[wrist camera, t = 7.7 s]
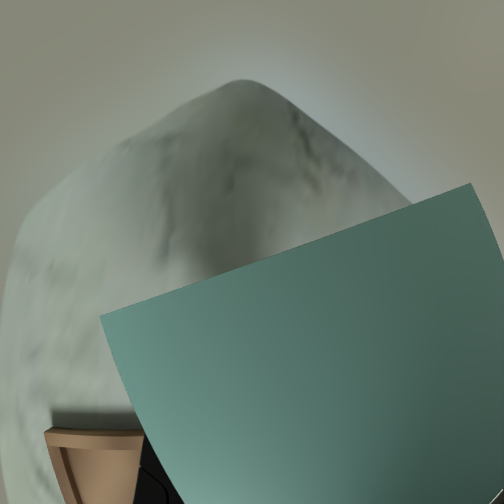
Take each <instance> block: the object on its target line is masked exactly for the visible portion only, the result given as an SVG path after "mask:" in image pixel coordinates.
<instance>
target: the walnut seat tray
mask: <svg viewBox="0 0 504 504" xmlns="http://www.w3.org/2000/svg"><path fill="white" fill-rule="evenodd" d="M44 436H45V440H46V444H47V448H48V451H49V455H50V458H51V462H52V465H53V468H54V471H55V474H56V478H57V481H58V483H59V486H60V489H61V492H62V495H63V497H64V500H65V503H66V504H132V503H133V499H134V493H135V487H136V482H137V475H138V468H139V467H140V466H139V462H140V456H141V449H142V443H143V437H144V430H92V429H72V428H59V427H51V428H50V429H48V430H46V431H45V432H44Z"/></svg>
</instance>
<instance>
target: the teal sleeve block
mask: <svg viewBox="0 0 504 504" xmlns="http://www.w3.org/2000/svg"><path fill="white" fill-rule="evenodd" d="M99 317H100V320H101V323H102V326H103V329H104V332H105V335H106V338H107V341H108V344H109V347H110V350H111V352H112V355H113V358H114V361H115V363H116V366H117V369H118V371H119V374H120V376H121V379H122V381H123V384H124V386H125V389H126V391H127V394H128V396H129V398H130V401H131V403H132V405H133V407H134V410H135V412H136V414H137V416H138V418H139V421H140V423H141V425H142V427H143V429H144V431H145V433H146V435H147V437H148V439H149V441H150V443H151V445H152V447H153V449H154V451H155V453H156V455H157V457H158V459H159V460H160V462H161V464H162V466H163V468H164V470H165V471H166V473H167V475H168V477H169V478H170V480H171V482H172V484H173V485H174V487H175V489H176V490H177V492H178V494H179V495H180V497H181V498H182V500H183V502H184V503H185V504H489V503H490V502H491V501H492V500H493V499H494V498H495V497H496V495H497V494H498V493H499V492H500V491H501V490H502V488H503V487H504V261H503V258H502V255H501V252H500V250H499V247H498V244H497V241H496V239H495V236H494V234H493V231H492V229H491V226H490V224H489V221H488V219H487V217H486V215H485V212H484V210H483V208H482V206H481V203H480V201H479V199H478V197H477V195H476V193H475V191H474V189H473V187H472V185H471V183H469V184H466V185H464V186H461V187H459V188H456V189H453V190H451V191H448V192H445V193H443V194H440V195H437V196H435V197H432V198H429V199H427V200H424V201H421V202H419V203H416V204H413V205H410V206H408V207H405V208H402V209H400V210H397V211H394V212H391V213H389V214H386V215H383V216H381V217H378V218H375V219H372V220H370V221H367V222H364V223H362V224H359V225H356V226H353V227H351V228H348V229H345V230H342V231H340V232H337V233H334V234H331V235H329V236H326V237H323V238H320V239H318V240H315V241H312V242H309V243H306V244H304V245H301V246H298V247H295V248H293V249H290V250H287V251H284V252H281V253H279V254H276V255H273V256H270V257H267V258H265V259H262V260H259V261H256V262H253V263H251V264H248V265H245V266H242V267H239V268H236V269H234V270H231V271H228V272H225V273H222V274H219V275H217V276H214V277H211V278H208V279H205V280H202V281H200V282H197V283H194V284H191V285H188V286H185V287H182V288H180V289H177V290H174V291H171V292H168V293H165V294H162V295H159V296H157V297H154V298H151V299H148V300H145V301H142V302H139V303H136V304H133V305H130V306H128V307H125V308H122V309H119V310H116V311H113V312H110V313H107V314H104V315H101V316H99Z"/></svg>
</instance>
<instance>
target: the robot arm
mask: <svg viewBox="0 0 504 504" xmlns="http://www.w3.org/2000/svg"><path fill="white" fill-rule="evenodd" d="M139 466H140V467H139V468H138V475H137V482H136V487H135V493H134V499H133V503H132V504H185V503H184V502H183V500H182V498H181V497H180V495H179V494H178V492H177V490H176V489H175V487H174V485H173V484H172V482H171V480H170V478H169V477H168V475H167V473H166V471H165V470H164V468H163V466H162V464H161V462H160V460H159V459H158V457H157V455H156V453H155V451H154V449H153V447H152V445H151V443H150V441H149V439H148V437H147V435H146V433H145V431H144V437H143V443H142V449H141V456H140V462H139ZM502 489H503V491H502V492H501V493H500V494H499V496H498V497H497V498H496V499H495V500H494V501H493V502H492V503H491V504H504V487H503V488H502Z"/></svg>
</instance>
